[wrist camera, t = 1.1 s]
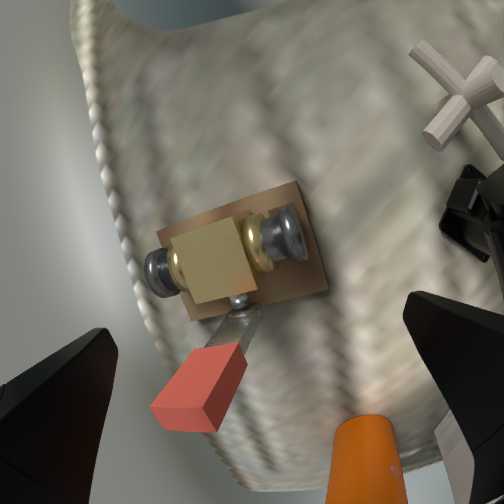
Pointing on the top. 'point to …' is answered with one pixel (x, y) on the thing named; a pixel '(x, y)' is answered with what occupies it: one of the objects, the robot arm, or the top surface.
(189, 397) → the valve lever
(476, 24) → the top surface
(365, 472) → the shaker bottle
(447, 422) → the skincare box
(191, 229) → the valve stand
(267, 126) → the top surface
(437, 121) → the pipe connector
